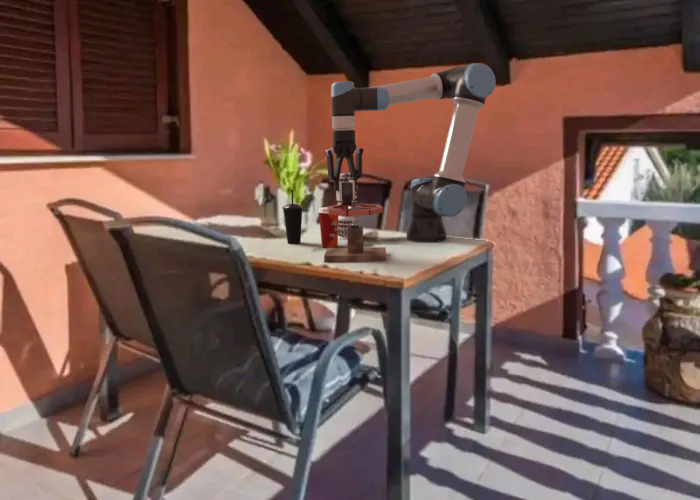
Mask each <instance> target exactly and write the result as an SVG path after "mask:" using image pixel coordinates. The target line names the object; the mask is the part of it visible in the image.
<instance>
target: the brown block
mask: <svg viewBox="0 0 700 500" xmlns="http://www.w3.org/2000/svg"><path fill="white" fill-rule="evenodd" d="M347 235H348V240H347V247H334V248H325V253H324V257H323V262H324V263H351V262H352V263H355V262H356V263H363V262H364V263H365V262H367V263H368V262H370V263H371V262H387V249H386V247H385V246H379V247H376V246H375V247H364V227H363V226H360V225H359V226H358V228H353V227H348V229H347Z"/></svg>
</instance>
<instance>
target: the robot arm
mask: <svg viewBox="0 0 700 500" xmlns="http://www.w3.org/2000/svg"><path fill="white" fill-rule="evenodd" d="M496 81H497V80H496V76H495V73H494V71H493V70H492V68H491V67H490V66H488V65H487V64H484V63H476V62H472V63H470V64H465V65H457V66H454V67H452V68H448V69H446V70H442V71H439V72H433V73H432V74H431V75H430V76H427V77H421V78H416V79H410V80H404V81H398V82H393V83H387V84H382V85H375V86H370V87H369V86H368V87H355V82H354V81H350V80H349V81H345V80H343V81H334V82H333V83H332V84H331V86H330V87H331V88H330V89H331V91H330V92H331V93H330V97H331V101H330V102H331V122H332V124H331V126H332V129H333V130H332V146H331V148H329V149H325V151H324V153H325V156H326V164H327V178H328V180H331V181H333V190H334V191H335V192H336V193H335V197H336V198H337V200H338V201H342V181H339V179H340V173H341V171H342V166H343V162H344V159H346V163H347V166H348V173H350V176H351V179H352V180H349V182H351V190H352V200H355V189H357V188H358V184H357V183H358V182H357V181H358V180H359V179H361V178H362V177H363V153H364V148H362V147H359V146H357V144H356V131H355V130H354V129H355V128H356V117H355V116H356V114H355V113H357V112H368V111H369V112H371V111H373V112H374V111H378V112H379V111H386V110H387V109H388V107H391V106H395V105H400V104H405V103H406V104H407V103H411V102H417V101H422V100H430V99H434V100H436V101H438V100H445V99H447V100H448V99H449V100H450V99H451V101H452V102H453V104H454V107H453V111H452V116H451V120H450V123H449V127H448V132H447V136H446V140H445V145H444V149H443V152H442V157H441V161H440V165H439V170H438V171H437V172H435V173H434V174H433V176H432V177H425V178H424V177H423V178H415V179H413V180H411V183H410V221H409V224H408V228H407V231H406V240H407V241H412V242H418V243H431V242H434V243H436V242H441V241H445V240H447V230H446V227H445V223H444V220H443V217H445V218H447V217H449V218H450V217H455V216H457V215H459V214H461V212H462V211H463V210H464V209H465V207H466V205H467V204H468V203H467V202H468V194H467V192H466V189H465V186H466V181H465V178H464V177H463V176H464V175H463V174H464V171H465V167H466V165H467V164H466V163H467V159H468V155H469V151H470V146H471V143H472V138H473V135H474V131H475V127H476V123H477V117H478V115H479V111H480V110H481V109H482V108H484V107H485V104H486V100H487V97H489V96H490V95H491V94H493V92H494V91H495V87H496V85H497V84H496ZM354 153H355V158H354ZM334 154H335V165H334V156H333V155H334ZM354 159H355V161H354Z"/></svg>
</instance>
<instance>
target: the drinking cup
mask: <svg viewBox="0 0 700 500" xmlns="http://www.w3.org/2000/svg"><path fill="white" fill-rule="evenodd" d="M290 194H291V197H290V198H291V199H290V200H291V203H288V204H286V205H283V206H282V207H281V208H282V210H283V217H284V226H285V233H286V241H287V244H289V245H298V244H301V242H302V241H301V239H302V237H301V236H302V223H303V222H302V220H303V209H304V206H303V205H300V204H298V203H294V189H290Z"/></svg>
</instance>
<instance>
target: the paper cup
mask: <svg viewBox="0 0 700 500" xmlns="http://www.w3.org/2000/svg"><path fill="white" fill-rule="evenodd" d="M327 207H328V206H326V207H319V208H318V215H319V217H318V218H319V227H320V228H319V229H320V237H321V246H322V248H325V249H327V248H338V245H339V243H338V242H339V241H338V240H339V239H338V217H339V215H330V214H329V213H328V212H327Z"/></svg>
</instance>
